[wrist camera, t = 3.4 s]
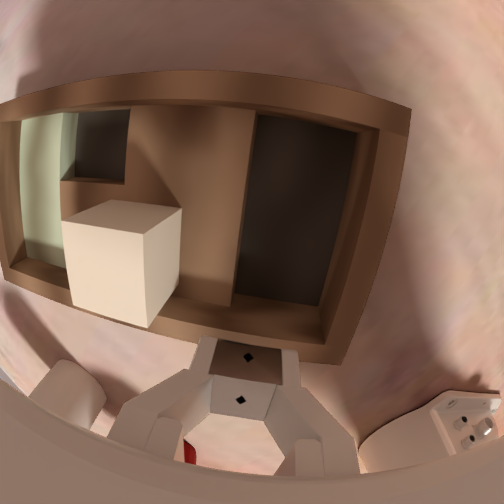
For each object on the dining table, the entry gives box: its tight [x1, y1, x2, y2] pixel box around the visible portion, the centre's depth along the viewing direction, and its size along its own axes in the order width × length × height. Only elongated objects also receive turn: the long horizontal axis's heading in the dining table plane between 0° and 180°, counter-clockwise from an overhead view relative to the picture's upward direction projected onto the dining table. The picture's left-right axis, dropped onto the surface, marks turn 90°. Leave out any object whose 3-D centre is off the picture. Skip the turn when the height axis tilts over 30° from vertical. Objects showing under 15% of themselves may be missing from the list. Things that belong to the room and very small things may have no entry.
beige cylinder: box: [28, 359, 107, 430], centre depth 22 cm, size 8×8×12 cm
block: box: [61, 200, 182, 328], centre depth 15 cm, size 5×5×5 cm
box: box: [0, 70, 412, 365], centre depth 16 cm, size 28×15×4 cm, turn 82°
